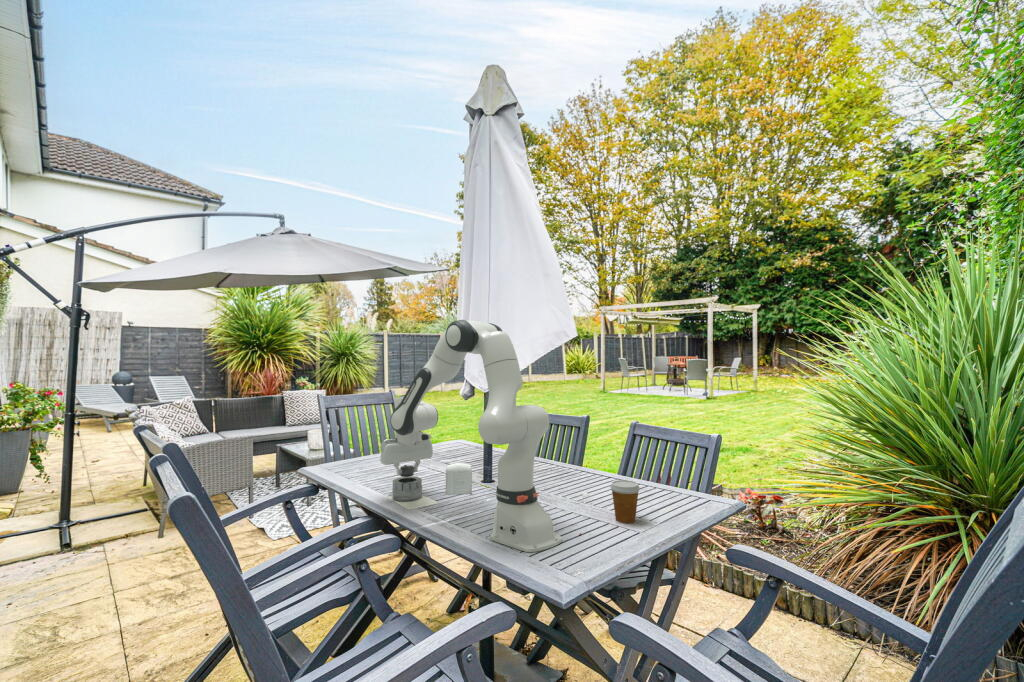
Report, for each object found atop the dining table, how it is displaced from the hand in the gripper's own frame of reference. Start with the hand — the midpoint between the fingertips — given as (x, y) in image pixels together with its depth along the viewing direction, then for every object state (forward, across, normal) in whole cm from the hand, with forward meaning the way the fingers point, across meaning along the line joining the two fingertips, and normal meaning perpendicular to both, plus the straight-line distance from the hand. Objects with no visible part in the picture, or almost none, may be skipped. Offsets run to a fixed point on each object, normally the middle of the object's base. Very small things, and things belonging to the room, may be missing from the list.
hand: (407, 473), depth 184 cm
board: (+10, 0, -4) cm, 11 cm away
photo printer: (+10, +18, -7) cm, 22 cm away
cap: (+1, 0, 0) cm, 1 cm away
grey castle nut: (+9, 0, 0) cm, 9 cm away
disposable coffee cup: (+10, +46, -66) cm, 81 cm away
